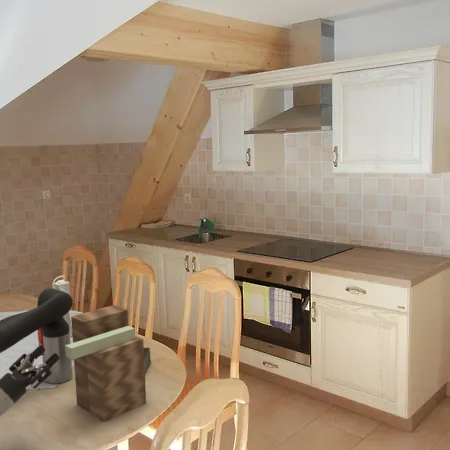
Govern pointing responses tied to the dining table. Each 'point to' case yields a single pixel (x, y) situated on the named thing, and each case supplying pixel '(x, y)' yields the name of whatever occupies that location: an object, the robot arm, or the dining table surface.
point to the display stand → (108, 366)
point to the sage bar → (99, 342)
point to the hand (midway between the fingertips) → (50, 351)
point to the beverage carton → (147, 358)
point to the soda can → (40, 338)
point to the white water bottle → (65, 287)
